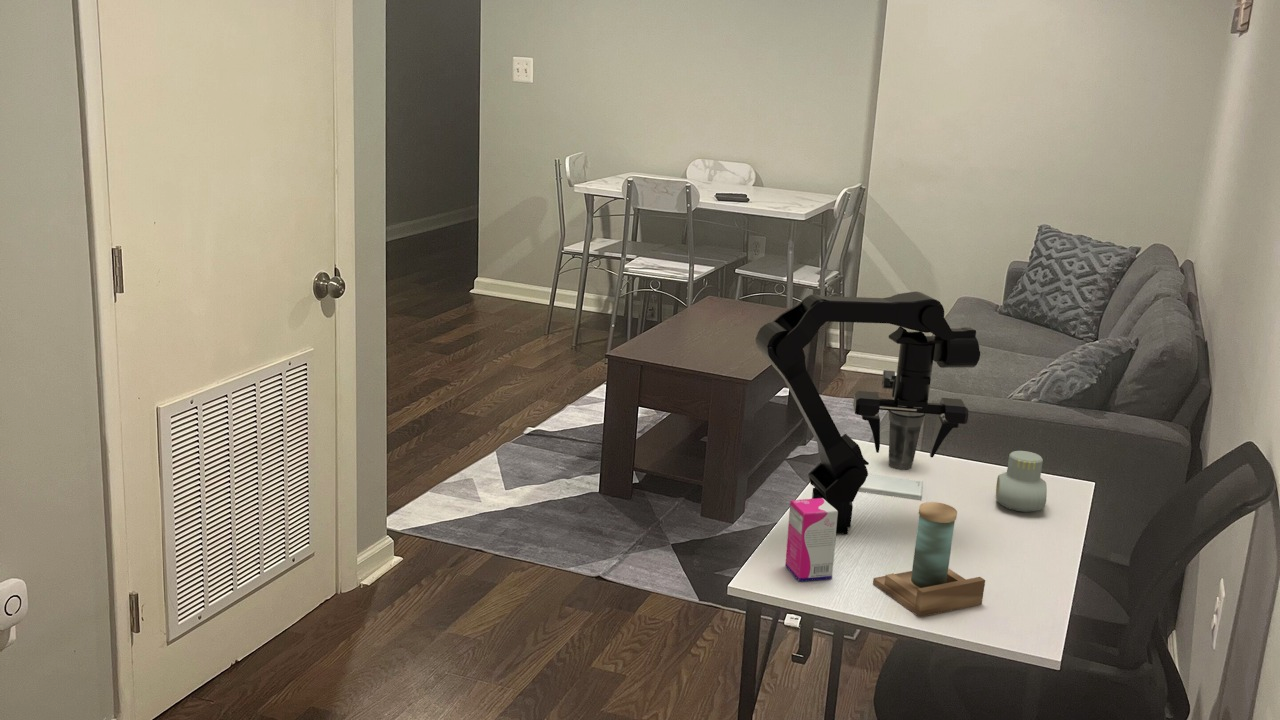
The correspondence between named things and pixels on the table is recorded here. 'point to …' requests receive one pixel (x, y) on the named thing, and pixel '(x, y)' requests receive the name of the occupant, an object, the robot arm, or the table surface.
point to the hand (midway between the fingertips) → (904, 454)
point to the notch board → (933, 593)
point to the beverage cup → (903, 438)
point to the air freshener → (1022, 483)
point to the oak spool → (933, 544)
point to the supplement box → (811, 539)
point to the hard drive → (892, 486)
